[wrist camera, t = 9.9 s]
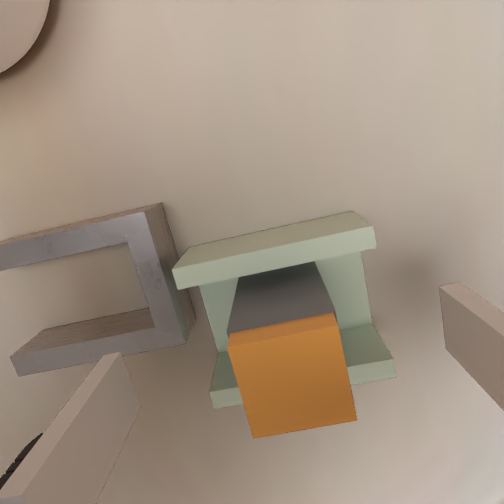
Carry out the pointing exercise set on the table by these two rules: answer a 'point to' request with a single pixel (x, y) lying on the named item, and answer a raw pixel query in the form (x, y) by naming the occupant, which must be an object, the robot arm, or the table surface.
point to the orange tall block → (288, 352)
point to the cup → (19, 28)
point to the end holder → (284, 255)
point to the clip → (116, 326)
